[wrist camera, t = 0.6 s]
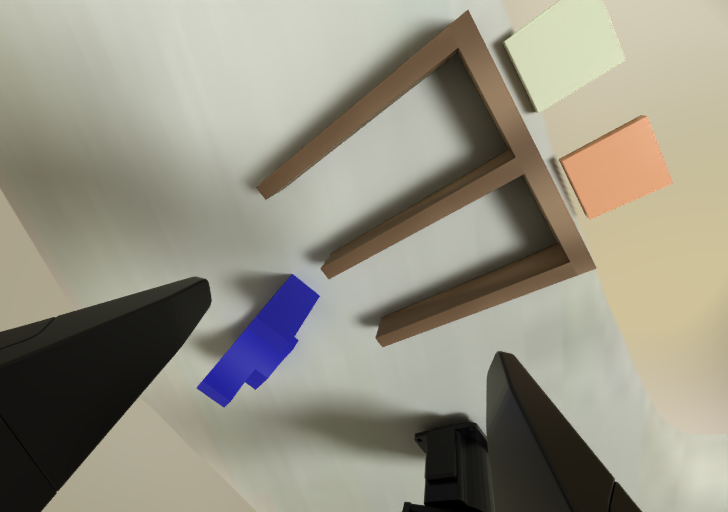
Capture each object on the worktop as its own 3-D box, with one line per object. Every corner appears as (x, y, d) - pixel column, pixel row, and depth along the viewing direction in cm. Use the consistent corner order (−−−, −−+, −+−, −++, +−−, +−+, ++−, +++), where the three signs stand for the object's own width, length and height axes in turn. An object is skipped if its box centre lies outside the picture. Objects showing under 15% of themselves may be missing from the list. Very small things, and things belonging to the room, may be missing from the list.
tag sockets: (677, 210, 18) (709, 226, 16) (388, 326, 27) (382, 347, 25) (570, -67, 14) (592, -95, 12) (274, 178, 23) (255, 187, 21)
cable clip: (270, 366, 33) (237, 417, 28) (236, 340, 33) (196, 388, 28) (333, 305, 27) (306, 355, 22) (293, 272, 27) (256, 316, 22)
